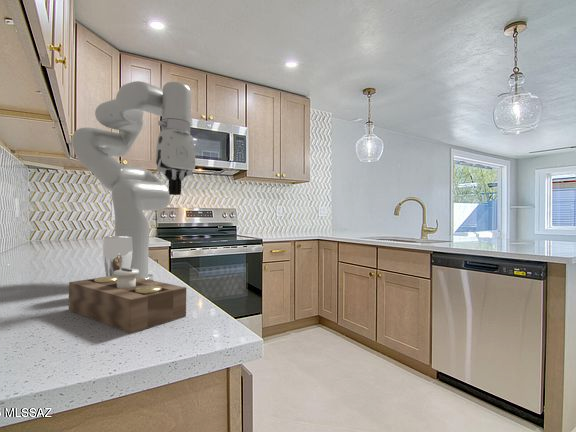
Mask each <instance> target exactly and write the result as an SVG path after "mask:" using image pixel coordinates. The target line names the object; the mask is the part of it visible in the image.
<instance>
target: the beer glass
mask: <svg viewBox="0 0 576 432" xmlns="http://www.w3.org/2000/svg"><path fill="white" fill-rule="evenodd" d="M132 254H133V247H132V236H115V235H108V236H104V237H103V245H102V260H103V267H104V272H105V277H108V276H114V271H116V270H121V268H127V269H130V268H131V262H132Z"/></svg>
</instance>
